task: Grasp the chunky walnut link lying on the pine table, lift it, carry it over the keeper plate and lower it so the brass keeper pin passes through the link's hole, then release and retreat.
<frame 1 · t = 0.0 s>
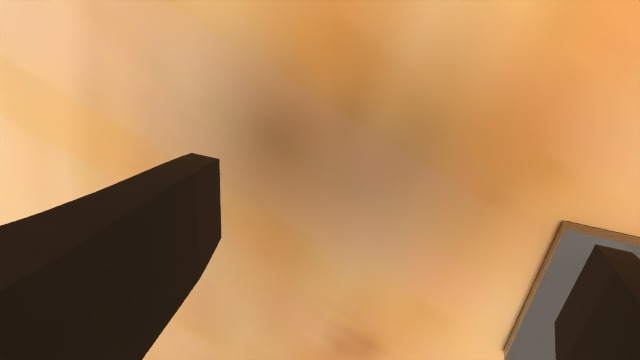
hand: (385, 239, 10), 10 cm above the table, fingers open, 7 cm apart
keeper: (626, 315, 21), on the table
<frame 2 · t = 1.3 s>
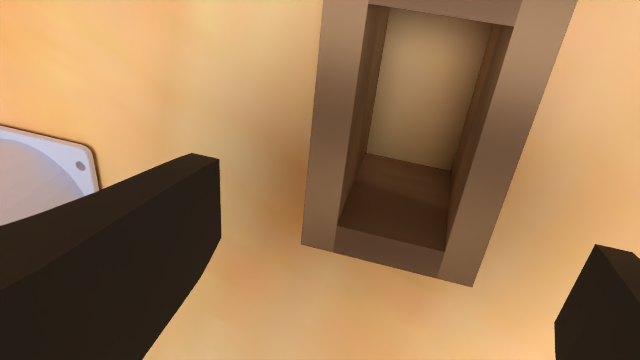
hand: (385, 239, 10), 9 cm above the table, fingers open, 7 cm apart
walnut link: (426, 80, 17), on the table
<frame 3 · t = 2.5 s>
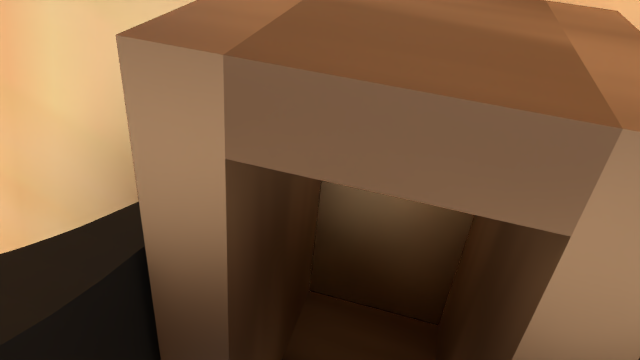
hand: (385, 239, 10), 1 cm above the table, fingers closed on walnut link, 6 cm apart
walnut link: (395, 200, 11), on the table, touching gripper
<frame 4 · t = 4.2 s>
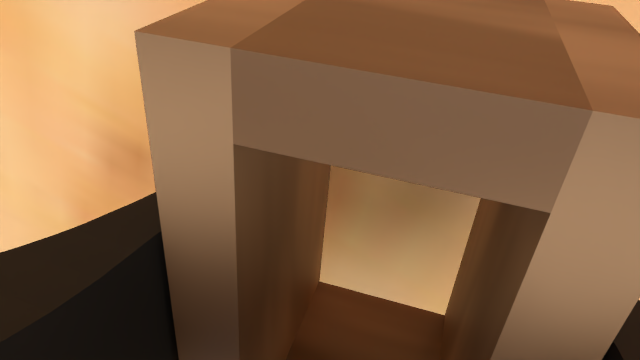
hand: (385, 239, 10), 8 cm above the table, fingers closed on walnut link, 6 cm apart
walnut link: (401, 192, 11), point 7 cm above the table, touching gripper
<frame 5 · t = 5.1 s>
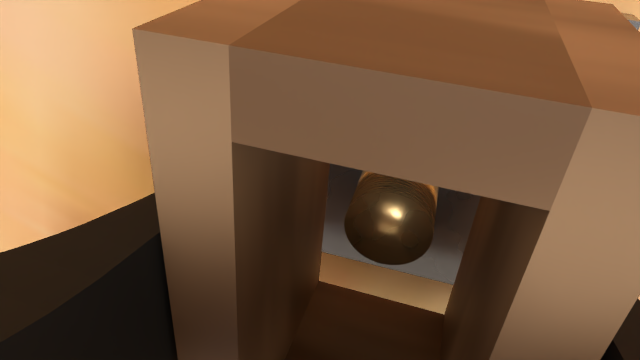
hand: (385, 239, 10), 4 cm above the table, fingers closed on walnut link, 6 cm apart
walnut link: (400, 191, 11), point 2 cm above the table, touching gripper
keeper: (409, 142, 13), on the table
when the fingers open (4 cm above the table, at t = 5.8 s): walnut link drops 1 cm, resting on keeper.
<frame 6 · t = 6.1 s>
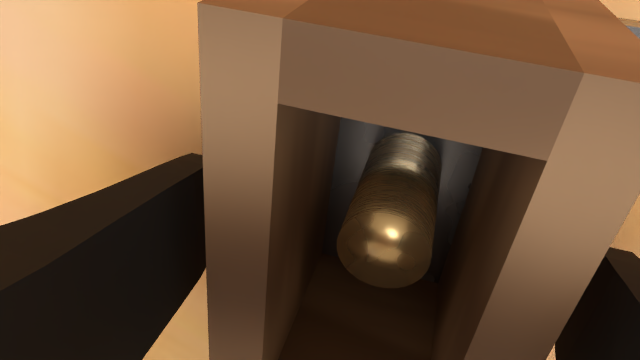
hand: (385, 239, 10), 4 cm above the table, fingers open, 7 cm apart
walnut link: (402, 167, 12), point 1 cm above the table, touching keeper
keeper: (406, 154, 12), on the table
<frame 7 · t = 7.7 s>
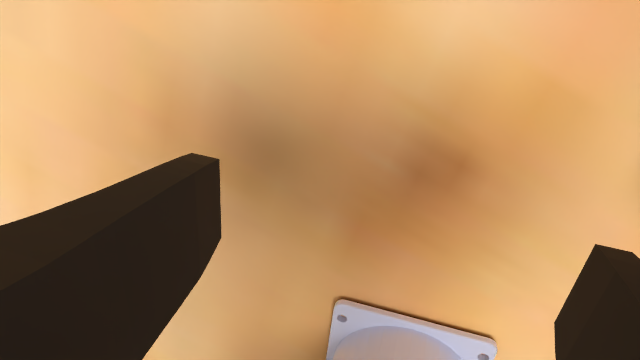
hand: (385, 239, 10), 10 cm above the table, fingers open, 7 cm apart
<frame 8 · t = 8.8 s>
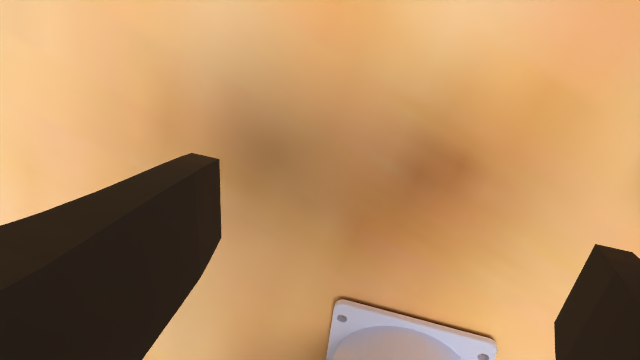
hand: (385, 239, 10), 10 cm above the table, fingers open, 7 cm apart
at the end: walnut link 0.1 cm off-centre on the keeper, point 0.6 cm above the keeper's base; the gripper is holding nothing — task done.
